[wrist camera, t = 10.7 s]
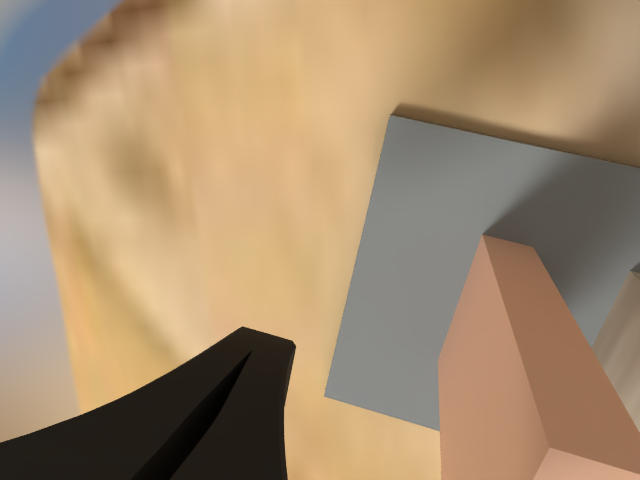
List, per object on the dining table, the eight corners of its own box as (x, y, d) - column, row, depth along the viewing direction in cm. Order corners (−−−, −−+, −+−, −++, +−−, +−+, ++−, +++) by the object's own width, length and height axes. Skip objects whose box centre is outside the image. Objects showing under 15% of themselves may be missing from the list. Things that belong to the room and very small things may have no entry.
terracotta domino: (533, 247, 15) (668, 483, 6) (482, 373, 17) (536, 680, 8) (482, 234, 15) (549, 447, 7) (437, 360, 17) (447, 647, 9)
